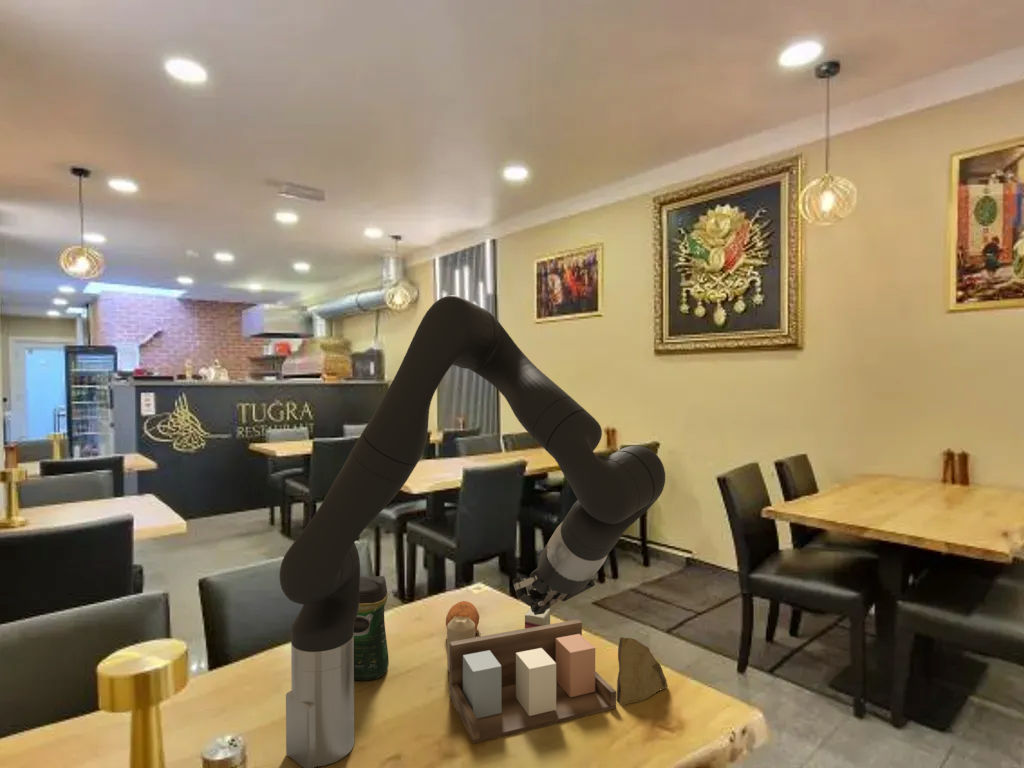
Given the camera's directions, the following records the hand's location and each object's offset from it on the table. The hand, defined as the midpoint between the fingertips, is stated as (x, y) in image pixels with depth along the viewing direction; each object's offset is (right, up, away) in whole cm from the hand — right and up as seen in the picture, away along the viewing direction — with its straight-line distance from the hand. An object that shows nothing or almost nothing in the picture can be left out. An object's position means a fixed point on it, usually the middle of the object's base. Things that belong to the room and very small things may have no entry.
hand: (536, 608), depth 90 cm
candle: (-14, -22, +25) cm, 36 cm away
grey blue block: (-9, -22, +10) cm, 26 cm away
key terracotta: (+8, -22, +17) cm, 28 cm away
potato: (-15, -21, +40) cm, 47 cm away
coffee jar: (-33, -22, +23) cm, 46 cm away
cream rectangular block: (0, -22, +11) cm, 24 cm away
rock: (+20, -22, +16) cm, 33 cm away
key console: (0, -22, +13) cm, 25 cm away
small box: (+2, -21, +33) cm, 39 cm away
